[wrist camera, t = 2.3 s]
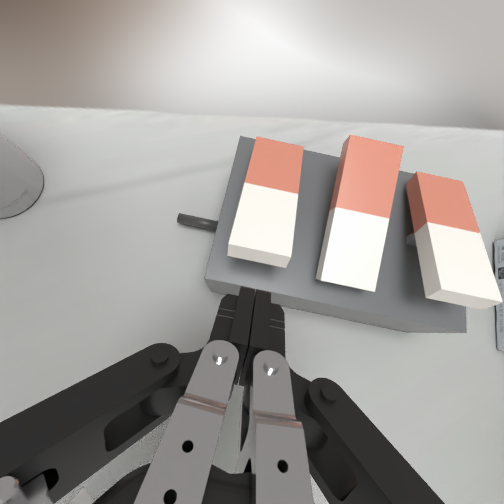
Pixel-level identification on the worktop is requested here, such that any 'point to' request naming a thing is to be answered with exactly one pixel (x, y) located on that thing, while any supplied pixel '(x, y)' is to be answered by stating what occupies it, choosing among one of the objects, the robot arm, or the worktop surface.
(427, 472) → the worktop surface
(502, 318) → the tea box
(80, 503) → the grater
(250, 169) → the block
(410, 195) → the rocker
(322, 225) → the switch console
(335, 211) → the block
